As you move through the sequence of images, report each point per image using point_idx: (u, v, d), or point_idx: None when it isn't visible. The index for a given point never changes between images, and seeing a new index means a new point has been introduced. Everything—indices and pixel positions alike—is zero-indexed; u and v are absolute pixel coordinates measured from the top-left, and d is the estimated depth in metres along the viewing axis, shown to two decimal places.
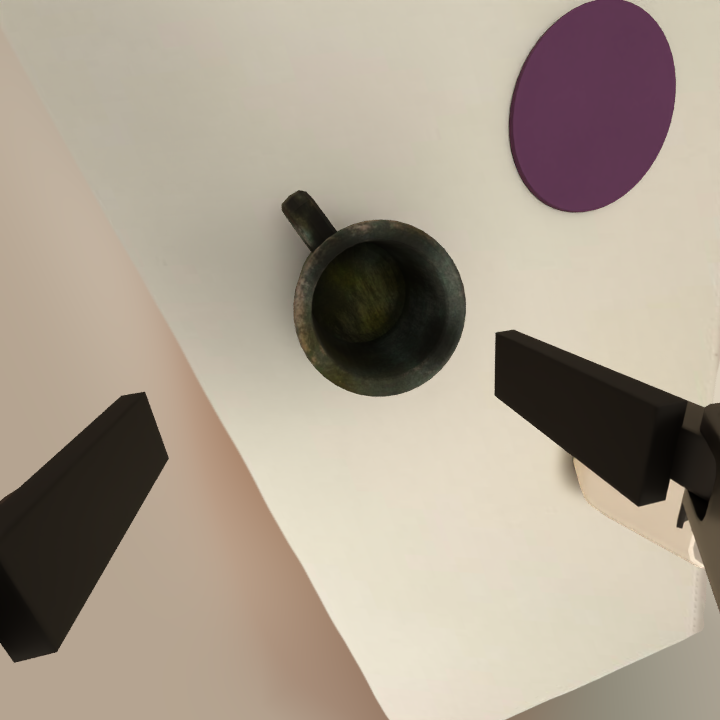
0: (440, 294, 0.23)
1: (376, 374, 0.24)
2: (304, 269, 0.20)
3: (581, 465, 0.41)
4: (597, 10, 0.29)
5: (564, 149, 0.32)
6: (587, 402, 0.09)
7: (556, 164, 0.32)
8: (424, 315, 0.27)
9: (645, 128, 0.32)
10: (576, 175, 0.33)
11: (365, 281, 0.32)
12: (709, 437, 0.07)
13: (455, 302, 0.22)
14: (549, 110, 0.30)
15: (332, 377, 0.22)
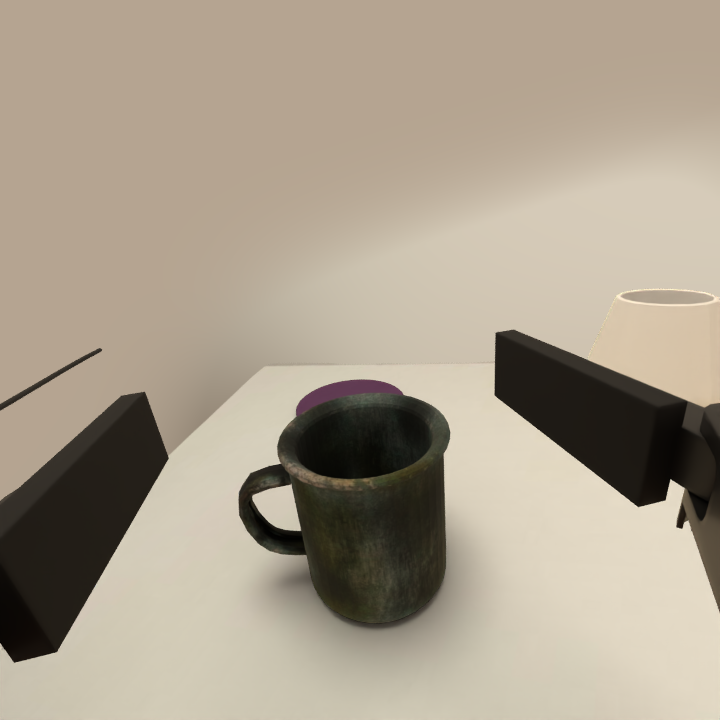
0: (378, 415, 0.28)
1: None
2: (283, 462, 0.21)
3: None
4: (305, 400, 0.54)
5: None
6: (587, 402, 0.09)
7: None
8: (405, 451, 0.28)
9: (371, 387, 0.56)
10: None
11: None
12: (709, 437, 0.07)
13: (383, 398, 0.27)
14: None
15: (397, 473, 0.19)
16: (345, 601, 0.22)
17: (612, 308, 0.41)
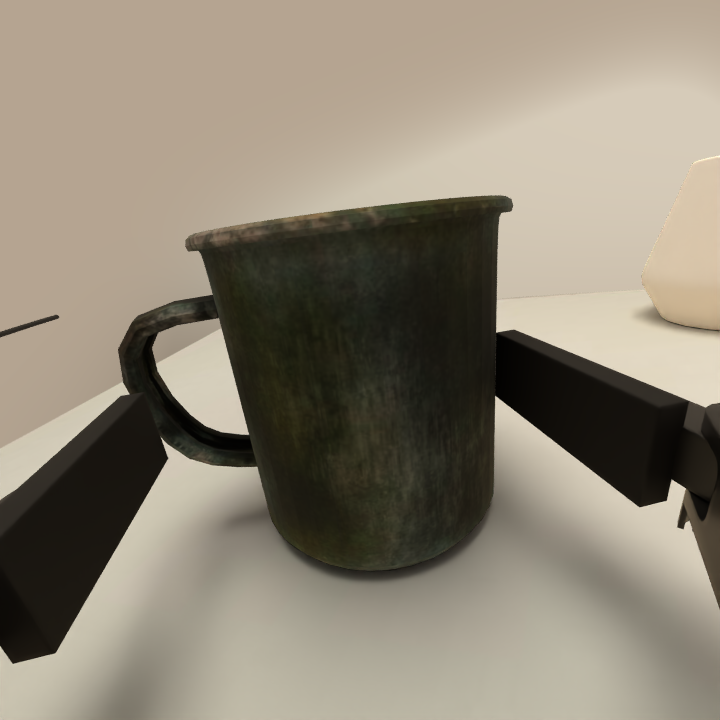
0: None
1: None
2: (188, 239, 0.10)
3: None
4: None
5: None
6: (588, 402, 0.09)
7: None
8: None
9: None
10: None
11: None
12: (710, 437, 0.07)
13: None
14: None
15: None
16: (325, 528, 0.12)
17: (688, 179, 0.31)
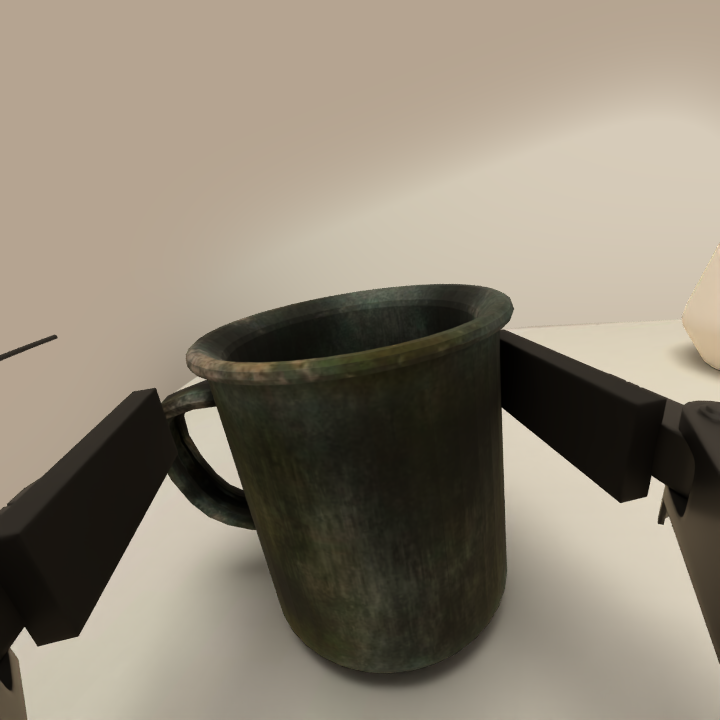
0: (395, 321, 0.17)
1: None
2: (188, 351, 0.12)
3: None
4: None
5: None
6: (572, 400, 0.10)
7: None
8: None
9: None
10: None
11: None
12: (687, 435, 0.07)
13: (404, 292, 0.17)
14: None
15: (371, 352, 0.08)
16: (303, 619, 0.12)
17: None
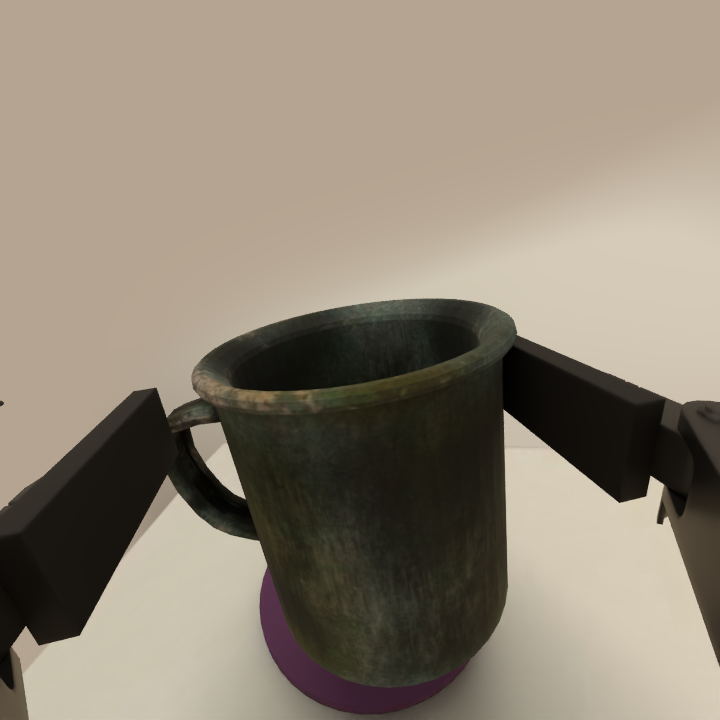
0: (399, 334, 0.17)
1: None
2: (193, 371, 0.12)
3: None
4: None
5: None
6: (571, 400, 0.10)
7: None
8: None
9: None
10: None
11: None
12: (686, 435, 0.07)
13: (408, 306, 0.17)
14: None
15: (374, 383, 0.08)
16: (306, 633, 0.13)
17: None
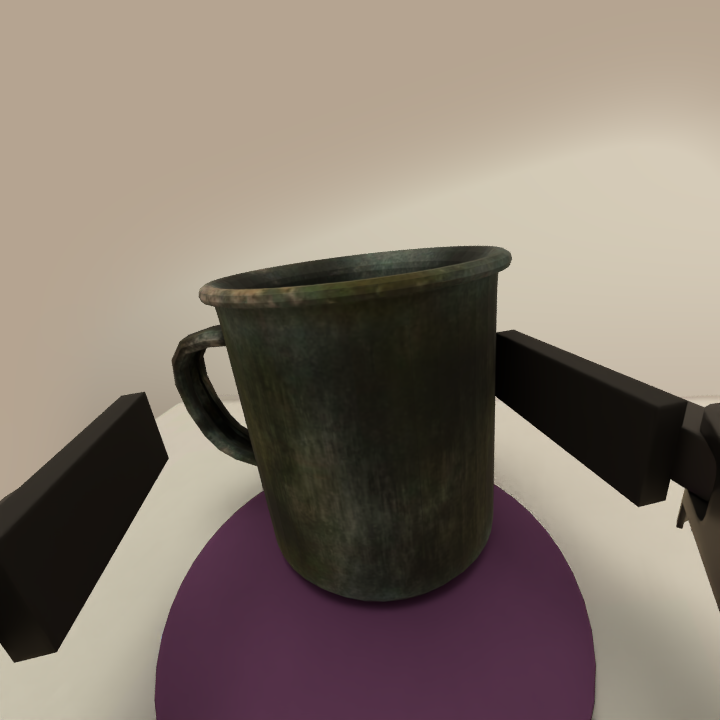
0: None
1: None
2: None
3: None
4: (219, 543, 0.17)
5: (409, 664, 0.11)
6: (587, 402, 0.09)
7: (442, 702, 0.10)
8: None
9: None
10: (486, 638, 0.12)
11: None
12: (709, 437, 0.07)
13: (417, 254, 0.17)
14: (298, 690, 0.11)
15: (353, 282, 0.09)
16: (290, 542, 0.13)
17: None
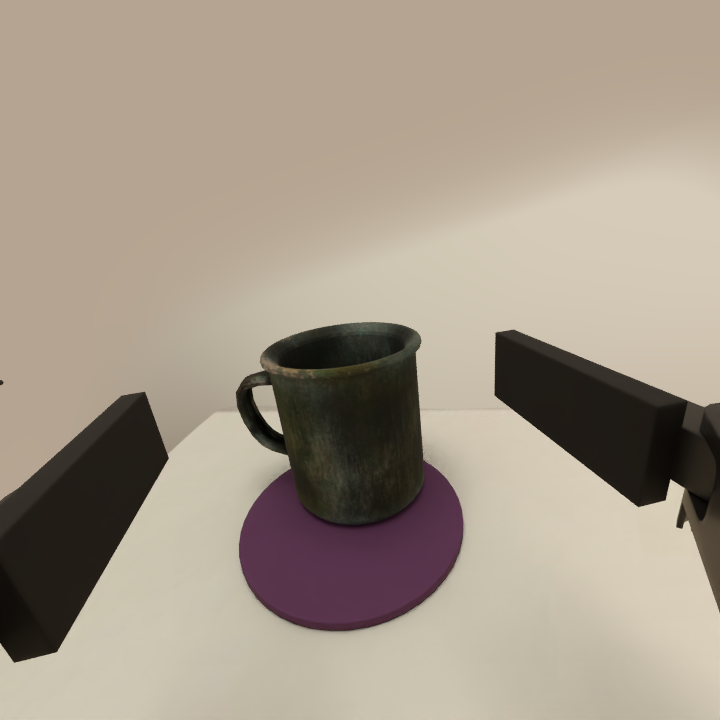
0: (374, 343, 0.28)
1: None
2: None
3: None
4: (263, 501, 0.28)
5: (369, 549, 0.22)
6: (588, 402, 0.09)
7: (383, 562, 0.21)
8: None
9: None
10: (409, 538, 0.23)
11: None
12: (709, 437, 0.07)
13: (380, 326, 0.28)
14: (313, 561, 0.22)
15: (337, 368, 0.20)
16: (307, 494, 0.25)
17: None
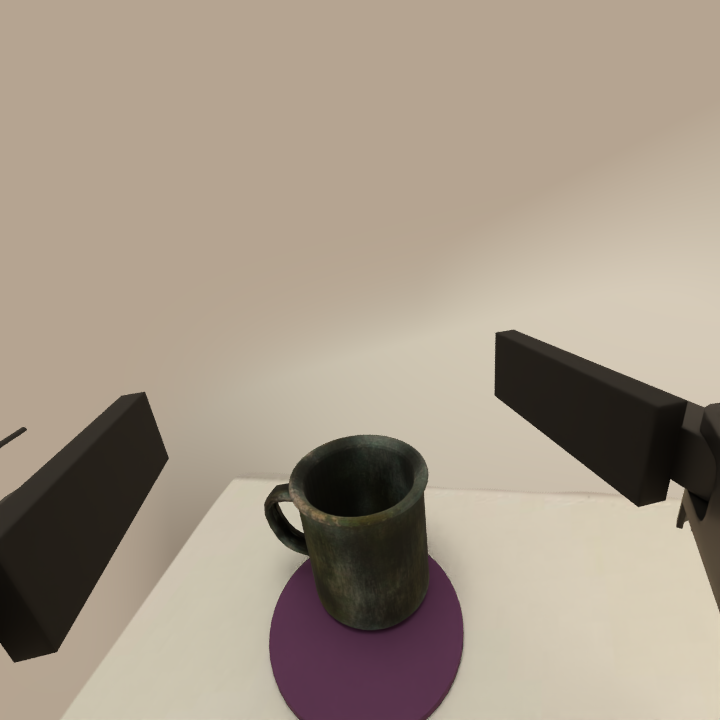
0: (386, 456, 0.32)
1: None
2: (289, 486, 0.28)
3: None
4: (286, 596, 0.32)
5: (382, 658, 0.26)
6: (587, 401, 0.09)
7: (395, 674, 0.25)
8: (405, 491, 0.32)
9: None
10: (417, 647, 0.27)
11: None
12: (709, 437, 0.07)
13: (391, 443, 0.32)
14: (335, 670, 0.26)
15: (359, 518, 0.24)
16: (328, 602, 0.28)
17: None
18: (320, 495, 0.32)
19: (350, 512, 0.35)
